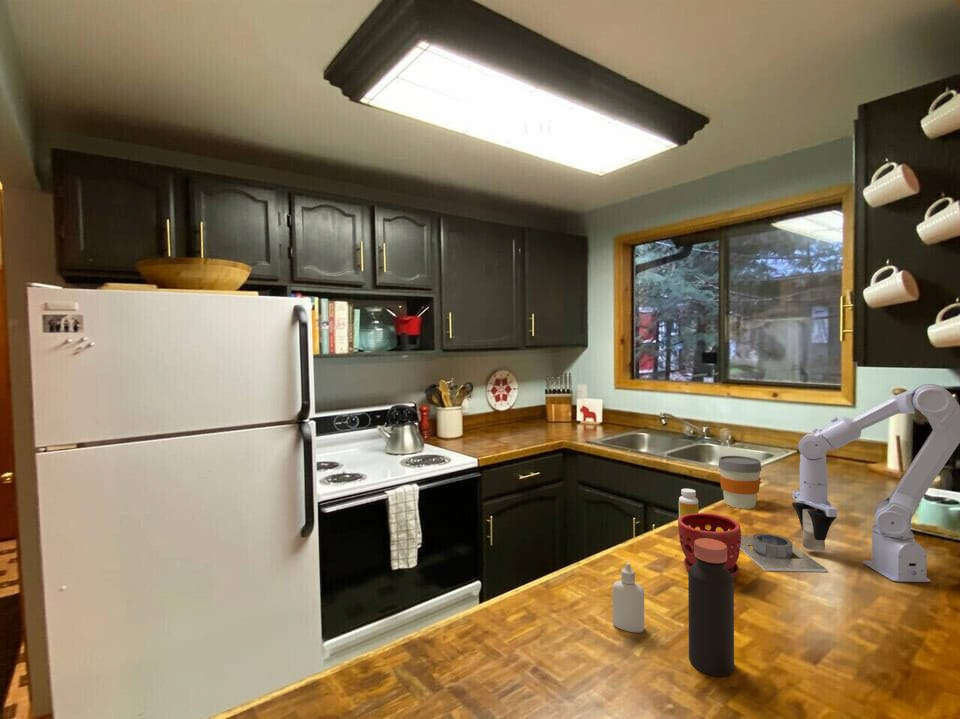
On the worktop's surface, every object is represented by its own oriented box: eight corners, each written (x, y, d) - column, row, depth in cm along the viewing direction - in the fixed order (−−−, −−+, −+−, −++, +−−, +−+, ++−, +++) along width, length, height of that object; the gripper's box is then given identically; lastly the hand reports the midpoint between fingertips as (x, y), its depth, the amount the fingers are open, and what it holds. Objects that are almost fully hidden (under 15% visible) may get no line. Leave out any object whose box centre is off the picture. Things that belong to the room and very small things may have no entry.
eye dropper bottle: (624, 616, 92) (623, 555, 92) (648, 630, 88) (648, 566, 87) (608, 623, 90) (608, 561, 90) (633, 638, 85) (632, 572, 85)
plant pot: (707, 556, 119) (707, 508, 118) (754, 579, 106) (754, 526, 106) (666, 565, 114) (666, 515, 114) (710, 590, 102) (710, 535, 101)
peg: (829, 551, 117) (828, 514, 116) (810, 550, 117) (809, 514, 117) (817, 543, 121) (817, 508, 121) (799, 543, 121) (798, 508, 121)
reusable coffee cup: (770, 507, 153) (770, 461, 153) (742, 513, 149) (742, 465, 149) (736, 496, 165) (736, 454, 165) (710, 501, 161) (709, 457, 160)
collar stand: (827, 571, 109) (827, 557, 109) (764, 570, 110) (764, 556, 110) (778, 537, 129) (778, 525, 129) (725, 537, 130) (725, 525, 130)
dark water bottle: (720, 650, 82) (719, 535, 81) (743, 677, 75) (742, 552, 74) (681, 651, 81) (680, 536, 81) (701, 678, 75) (700, 553, 74)
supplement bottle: (700, 526, 138) (700, 493, 138) (681, 525, 139) (680, 492, 139) (696, 519, 144) (695, 488, 144) (677, 518, 145) (677, 487, 145)
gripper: (780, 474, 126) (780, 524, 126) (815, 490, 112) (815, 547, 112) (808, 474, 126) (808, 525, 126) (846, 490, 111) (846, 547, 112)
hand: (813, 535), depth 119 cm, fingers closed on peg, 4 cm apart
